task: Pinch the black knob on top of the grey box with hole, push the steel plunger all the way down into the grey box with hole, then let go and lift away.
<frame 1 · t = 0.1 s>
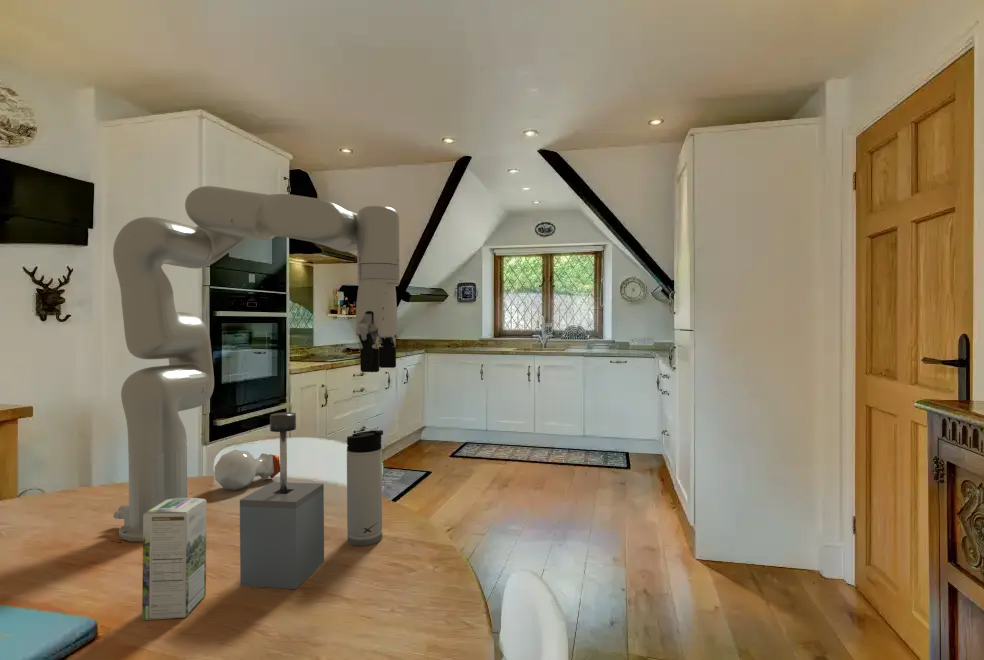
hand: (379, 369, 93), 31 cm above the table, tool pointing down, fingers open, 9 cm apart
syrup box: (176, 609, 71), on the table
grey box with hole: (284, 573, 81), on the table
plunger: (283, 461, 81), point 18 cm above the table, slide at 0.0 cm
potion bottle: (246, 486, 127), on the table
travel mug: (365, 540, 94), on the table
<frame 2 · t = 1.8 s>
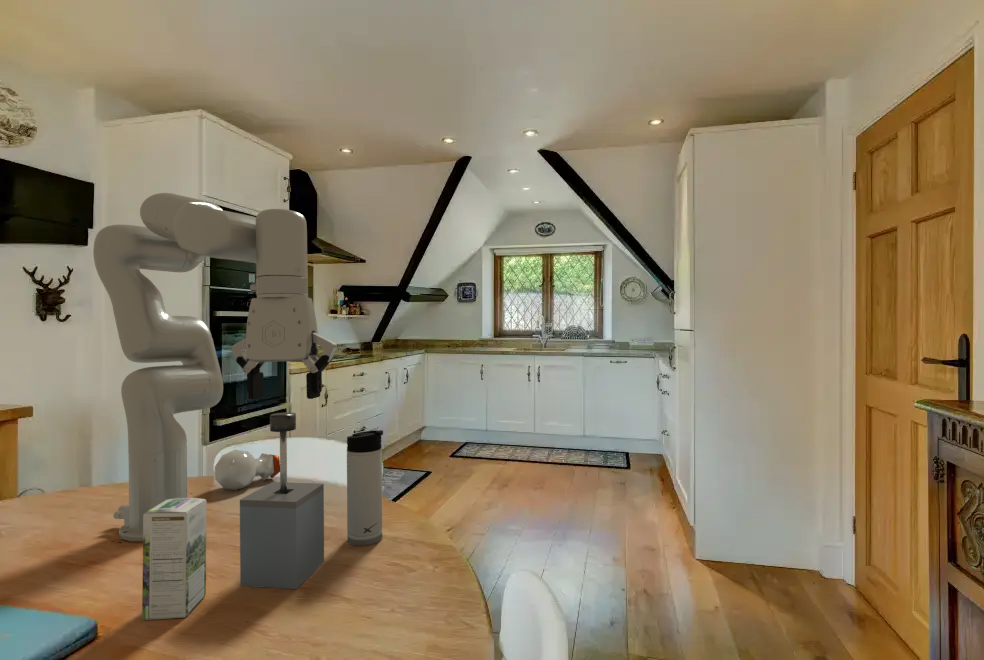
hand: (284, 397, 80), 28 cm above the table, tool pointing down, fingers open, 9 cm apart
nothing on the table moved.
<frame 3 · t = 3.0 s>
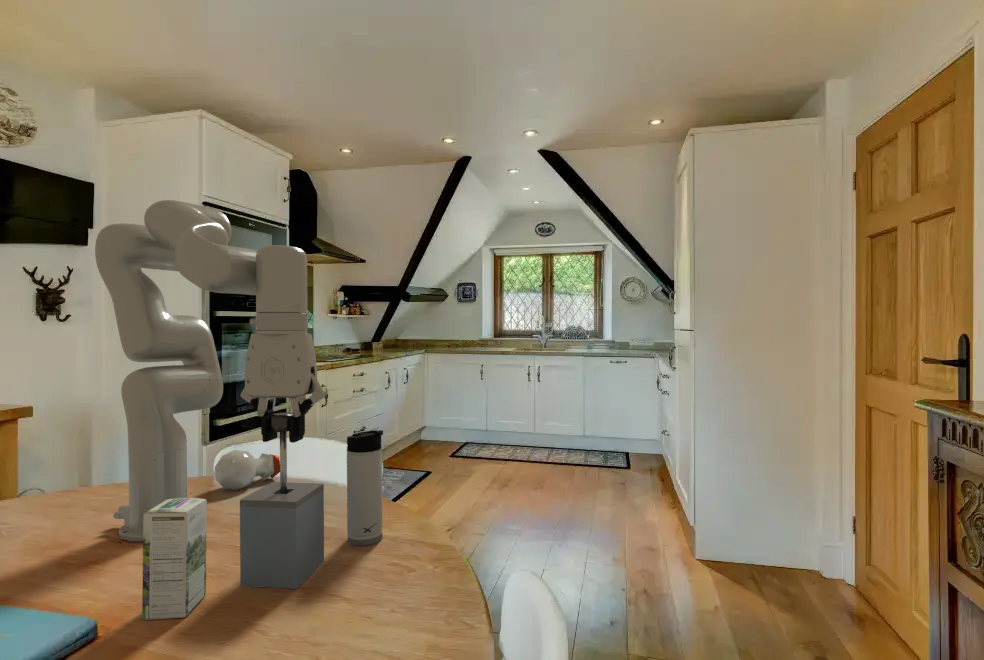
hand: (283, 439, 81), 21 cm above the table, tool pointing down, fingers closed on plunger, 3 cm apart
plunger: (283, 461, 81), point 18 cm above the table, slide at 0.0 cm, touching gripper
everything else where it was.
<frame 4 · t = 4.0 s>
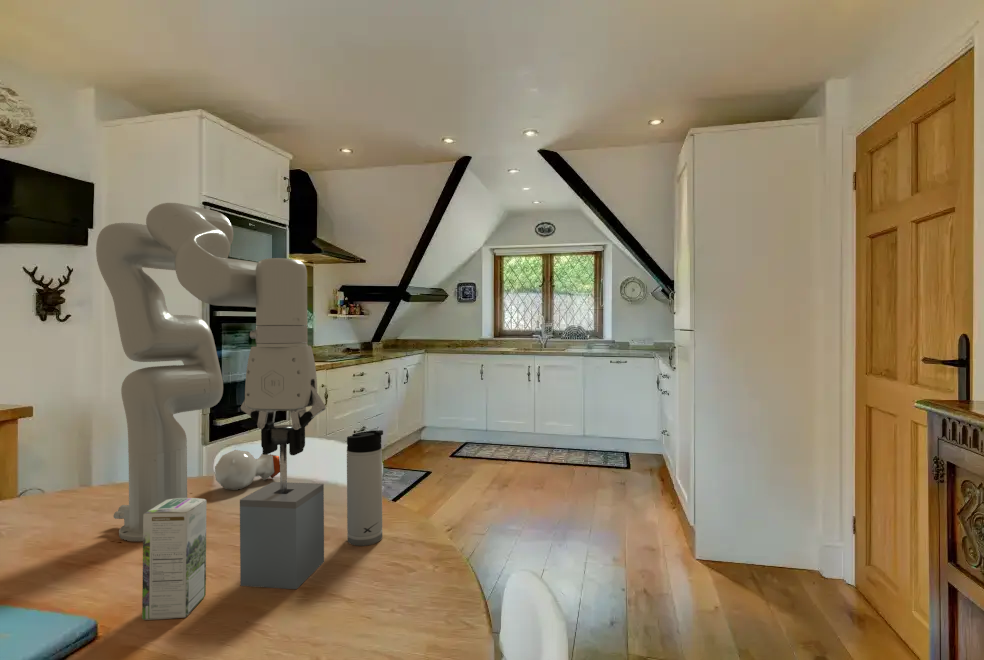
hand: (283, 451, 81), 19 cm above the table, tool pointing down, fingers closed on plunger, 3 cm apart
plunger: (283, 474, 81), point 16 cm above the table, slide at 2.0 cm, touching gripper
everything else where it was.
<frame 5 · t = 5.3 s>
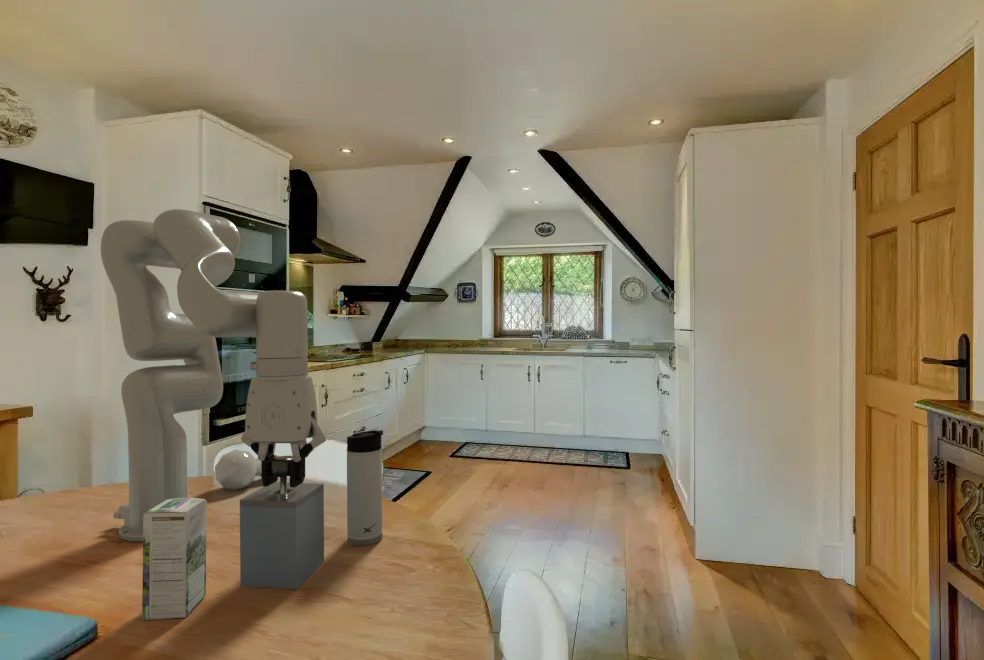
hand: (283, 483, 81), 14 cm above the table, tool pointing down, fingers closed on plunger, 3 cm apart
plunger: (283, 505, 81), point 11 cm above the table, slide at 7.0 cm, touching gripper
everything else where it was.
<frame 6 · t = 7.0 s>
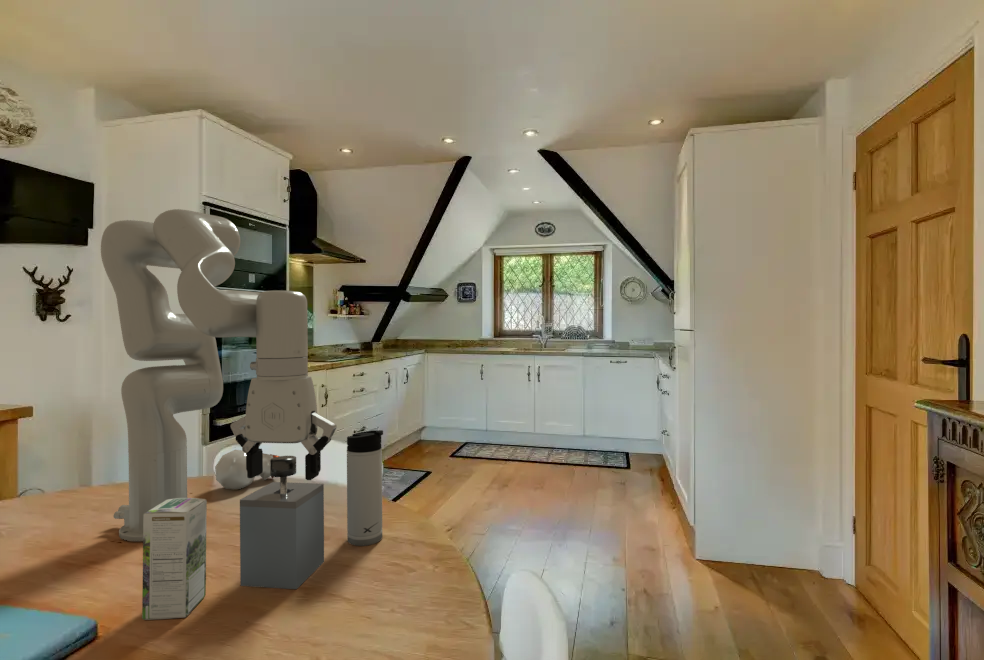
hand: (283, 476, 81), 15 cm above the table, tool pointing down, fingers open, 9 cm apart
plunger: (283, 505, 81), point 11 cm above the table, slide at 7.0 cm
everything else where it was.
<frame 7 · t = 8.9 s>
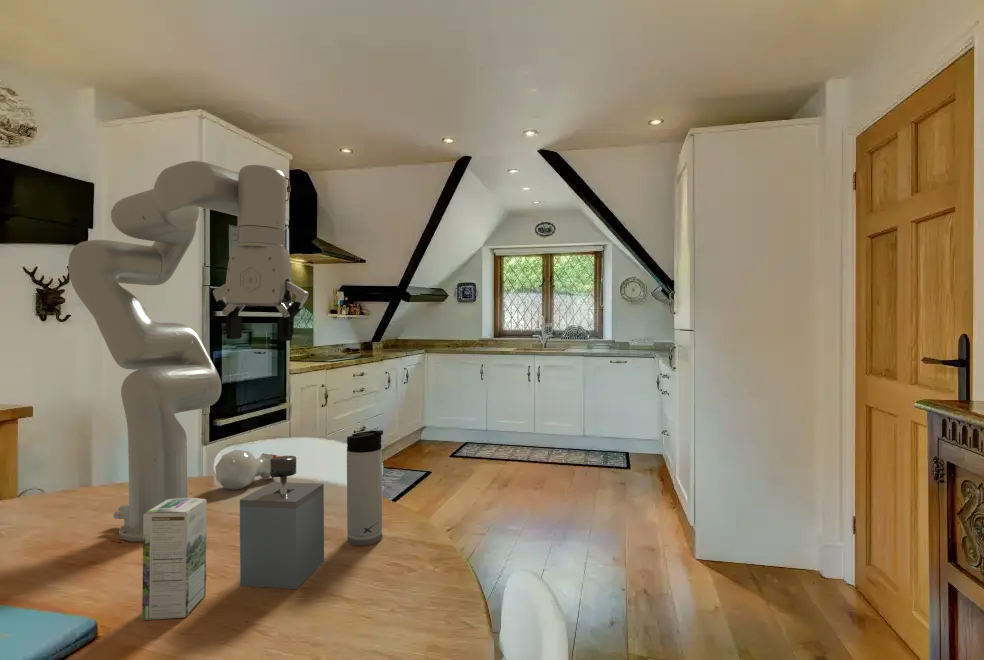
hand: (259, 339, 88), 37 cm above the table, tool pointing down, fingers open, 9 cm apart
nothing on the table moved.
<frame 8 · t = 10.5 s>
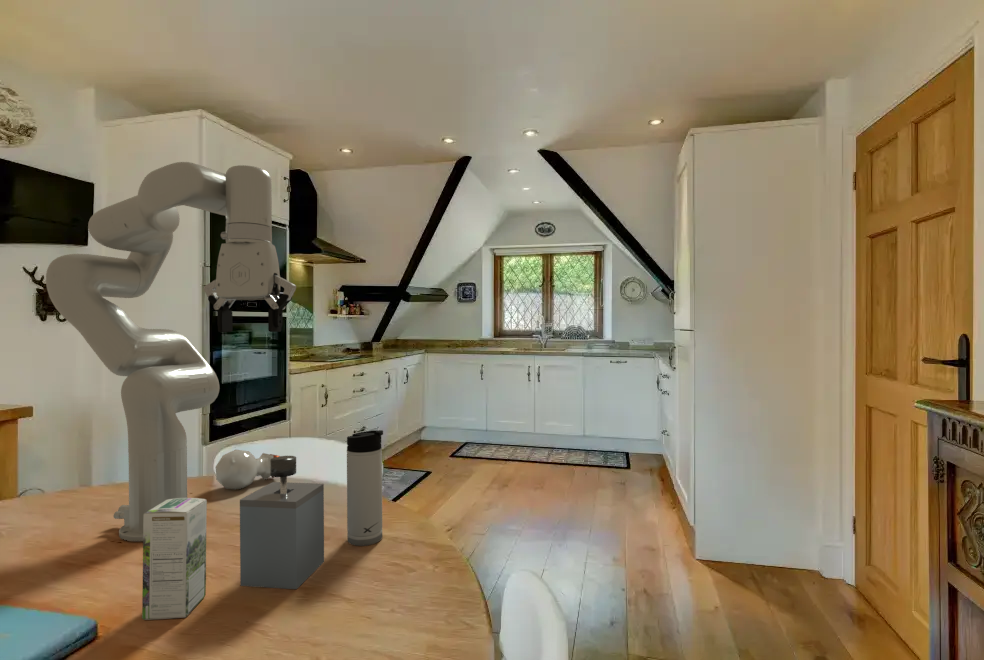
hand: (250, 331, 92), 38 cm above the table, tool pointing down, fingers open, 9 cm apart
nothing on the table moved.
at the end: plunger slide at 7.0 cm; the gripper is holding nothing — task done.
